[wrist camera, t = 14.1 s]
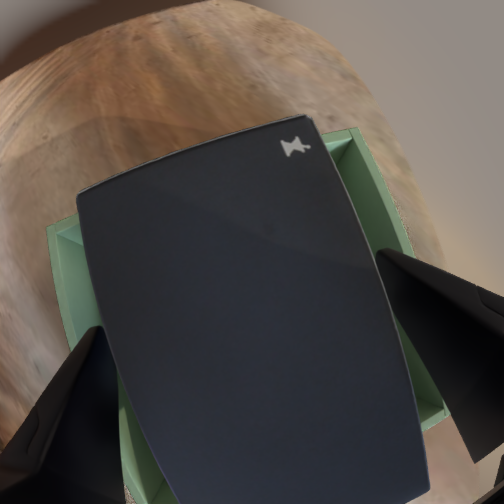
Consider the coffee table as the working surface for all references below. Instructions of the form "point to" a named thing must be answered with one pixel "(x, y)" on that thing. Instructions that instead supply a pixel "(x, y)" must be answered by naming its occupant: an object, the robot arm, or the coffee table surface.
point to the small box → (254, 324)
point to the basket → (87, 315)
